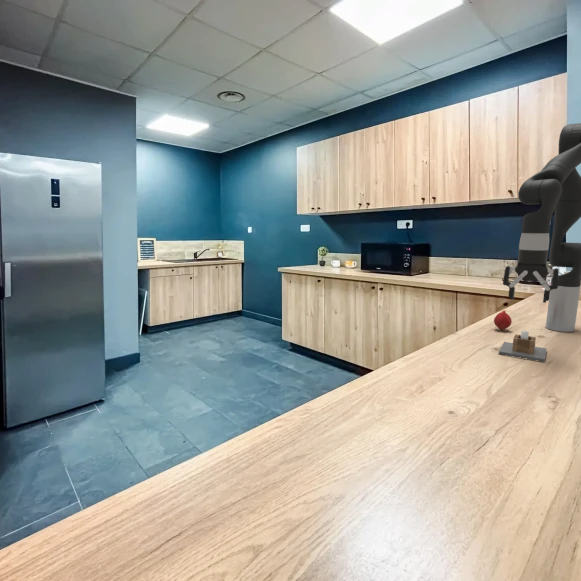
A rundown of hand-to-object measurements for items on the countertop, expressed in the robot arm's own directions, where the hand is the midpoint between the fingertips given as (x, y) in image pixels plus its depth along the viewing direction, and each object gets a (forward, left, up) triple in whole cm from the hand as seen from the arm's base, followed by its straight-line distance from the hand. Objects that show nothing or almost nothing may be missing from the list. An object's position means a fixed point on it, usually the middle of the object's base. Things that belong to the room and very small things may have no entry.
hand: (527, 300), depth 118 cm
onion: (-25, -9, -17) cm, 31 cm away
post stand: (0, 0, -17) cm, 17 cm away
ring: (0, 0, -16) cm, 16 cm away
